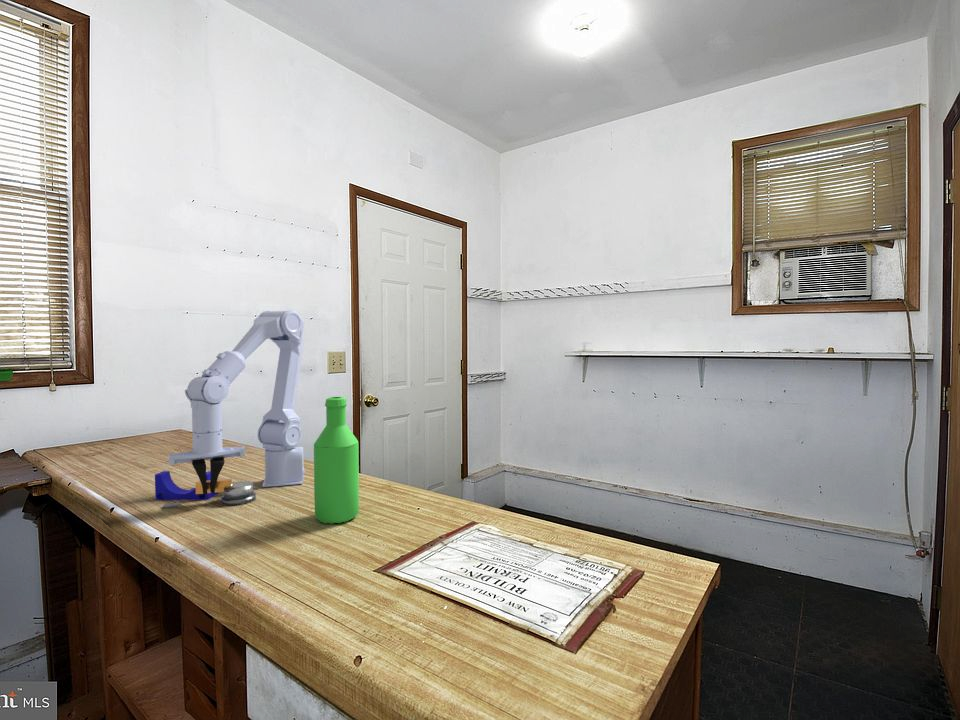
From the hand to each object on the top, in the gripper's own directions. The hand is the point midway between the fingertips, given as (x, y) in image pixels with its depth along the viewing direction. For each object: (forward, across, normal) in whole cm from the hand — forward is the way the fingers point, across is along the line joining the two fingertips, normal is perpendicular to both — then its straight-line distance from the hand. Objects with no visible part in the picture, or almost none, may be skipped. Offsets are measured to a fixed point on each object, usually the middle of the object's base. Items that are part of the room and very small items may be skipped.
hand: (208, 492), depth 106 cm
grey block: (+3, +7, -4) cm, 9 cm away
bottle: (+3, -22, +22) cm, 31 cm away
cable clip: (+3, +4, -10) cm, 11 cm away
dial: (+2, -3, -1) cm, 4 cm away
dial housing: (+3, -6, -1) cm, 7 cm away
